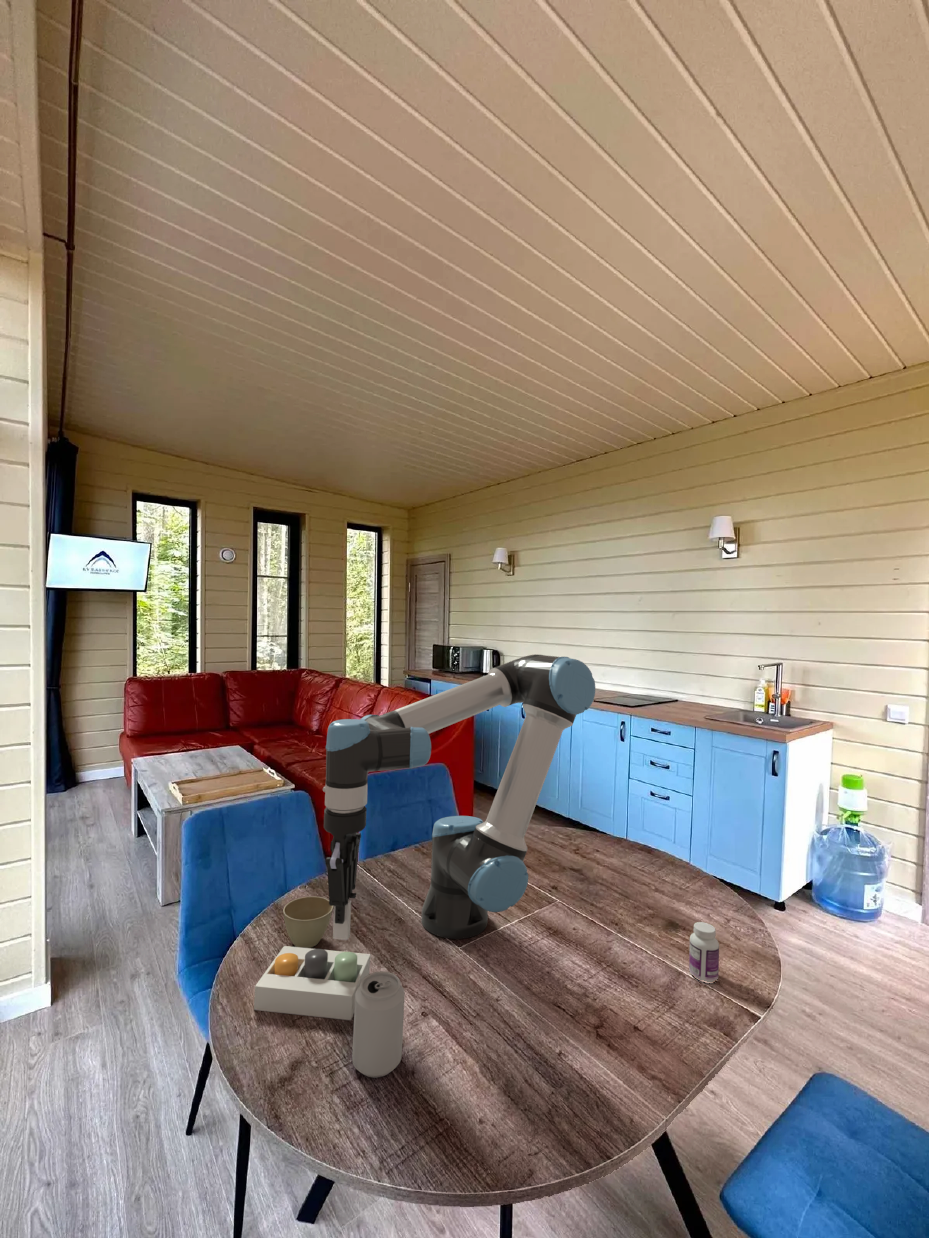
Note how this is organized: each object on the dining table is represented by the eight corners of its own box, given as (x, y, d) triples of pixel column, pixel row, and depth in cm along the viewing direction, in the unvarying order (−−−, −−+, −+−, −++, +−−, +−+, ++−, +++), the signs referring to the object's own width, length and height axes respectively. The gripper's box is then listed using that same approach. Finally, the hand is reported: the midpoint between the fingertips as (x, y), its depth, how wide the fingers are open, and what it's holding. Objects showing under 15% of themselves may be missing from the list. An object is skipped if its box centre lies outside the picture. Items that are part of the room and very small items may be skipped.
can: (354, 1043, 87) (358, 967, 87) (402, 1042, 87) (405, 966, 88) (348, 1082, 79) (352, 999, 80) (400, 1081, 80) (404, 998, 80)
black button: (329, 971, 100) (330, 949, 100) (322, 985, 96) (323, 963, 96) (308, 969, 101) (309, 947, 101) (300, 983, 97) (301, 960, 97)
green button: (359, 974, 100) (360, 952, 100) (352, 988, 96) (353, 966, 96) (337, 972, 100) (338, 950, 100) (330, 986, 96) (331, 963, 96)
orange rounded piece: (300, 975, 101) (301, 954, 101) (291, 989, 97) (293, 967, 97) (279, 973, 101) (280, 951, 101) (270, 987, 97) (271, 965, 97)
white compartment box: (369, 975, 104) (370, 954, 104) (350, 1020, 92) (352, 996, 92) (283, 966, 105) (284, 945, 105) (253, 1009, 93) (255, 986, 93)
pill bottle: (716, 971, 110) (718, 923, 110) (719, 987, 105) (721, 936, 105) (687, 964, 112) (689, 917, 112) (689, 980, 107) (691, 930, 107)
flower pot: (317, 959, 108) (319, 923, 108) (272, 951, 110) (273, 915, 110) (339, 932, 118) (340, 899, 118) (296, 925, 120) (298, 892, 120)
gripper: (337, 794, 106) (333, 916, 105) (312, 817, 93) (307, 956, 93) (375, 796, 105) (371, 919, 105) (354, 820, 92) (350, 960, 92)
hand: (341, 936), depth 99 cm, fingers closed
